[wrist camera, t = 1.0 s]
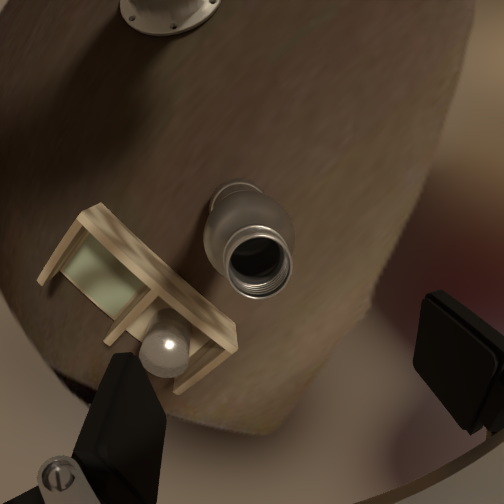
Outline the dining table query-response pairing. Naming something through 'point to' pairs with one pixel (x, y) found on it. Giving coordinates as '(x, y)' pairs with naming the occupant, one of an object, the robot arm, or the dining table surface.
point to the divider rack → (138, 289)
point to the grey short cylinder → (166, 344)
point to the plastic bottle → (249, 239)
